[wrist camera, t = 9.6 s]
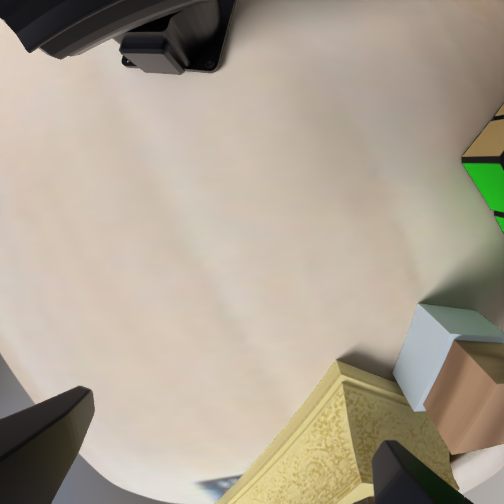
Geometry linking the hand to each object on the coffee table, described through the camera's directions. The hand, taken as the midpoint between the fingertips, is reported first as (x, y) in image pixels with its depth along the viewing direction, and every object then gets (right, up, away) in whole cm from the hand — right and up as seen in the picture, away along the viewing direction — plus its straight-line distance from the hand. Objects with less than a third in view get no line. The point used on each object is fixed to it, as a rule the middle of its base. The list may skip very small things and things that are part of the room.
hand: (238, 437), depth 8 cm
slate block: (+15, -2, +13) cm, 20 cm away
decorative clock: (+6, -17, +18) cm, 26 cm away
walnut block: (+15, -3, +9) cm, 17 cm away
